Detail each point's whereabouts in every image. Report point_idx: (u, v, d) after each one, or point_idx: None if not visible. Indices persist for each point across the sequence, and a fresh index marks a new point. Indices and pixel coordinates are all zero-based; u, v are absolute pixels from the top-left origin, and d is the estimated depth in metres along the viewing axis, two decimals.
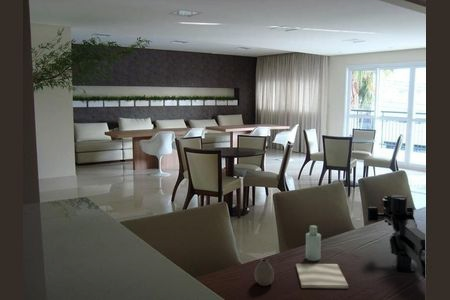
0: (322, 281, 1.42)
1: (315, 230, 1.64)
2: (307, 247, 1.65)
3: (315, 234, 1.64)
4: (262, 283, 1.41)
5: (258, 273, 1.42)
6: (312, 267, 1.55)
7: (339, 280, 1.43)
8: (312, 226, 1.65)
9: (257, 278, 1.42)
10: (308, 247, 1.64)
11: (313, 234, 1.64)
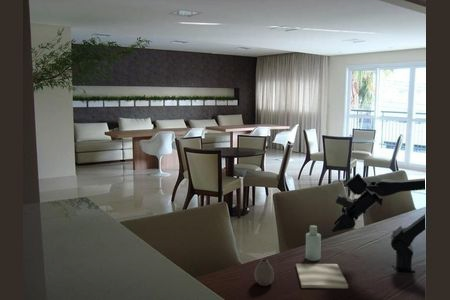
0: (322, 281, 1.42)
1: (315, 230, 1.64)
2: (307, 247, 1.65)
3: (315, 234, 1.64)
4: (262, 283, 1.41)
5: (258, 273, 1.42)
6: (312, 267, 1.55)
7: (339, 280, 1.43)
8: (312, 226, 1.65)
9: (257, 278, 1.42)
10: (308, 247, 1.64)
11: (313, 234, 1.64)
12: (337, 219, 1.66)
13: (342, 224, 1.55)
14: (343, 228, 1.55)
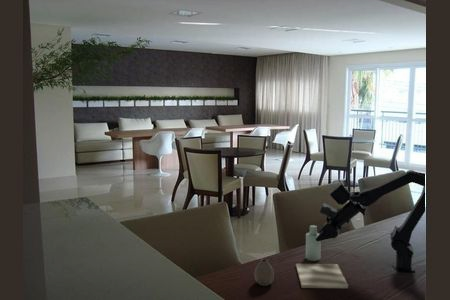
0: (322, 281, 1.42)
1: (315, 230, 1.64)
2: (307, 247, 1.65)
3: (315, 234, 1.64)
4: (262, 283, 1.41)
5: (258, 273, 1.42)
6: (312, 267, 1.55)
7: (339, 280, 1.43)
8: (312, 226, 1.65)
9: (257, 278, 1.42)
10: (308, 247, 1.64)
11: (313, 234, 1.64)
12: (322, 228, 1.68)
13: (326, 233, 1.58)
14: (327, 237, 1.57)
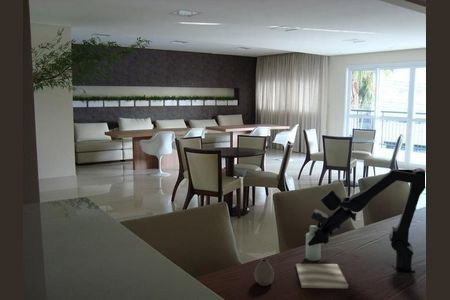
0: (322, 281, 1.42)
1: None
2: (307, 247, 1.65)
3: None
4: (262, 283, 1.41)
5: (258, 273, 1.42)
6: (312, 267, 1.55)
7: (339, 280, 1.43)
8: (312, 226, 1.65)
9: (257, 278, 1.42)
10: (308, 247, 1.64)
11: (313, 234, 1.64)
12: None
13: (317, 238, 1.61)
14: (318, 242, 1.60)
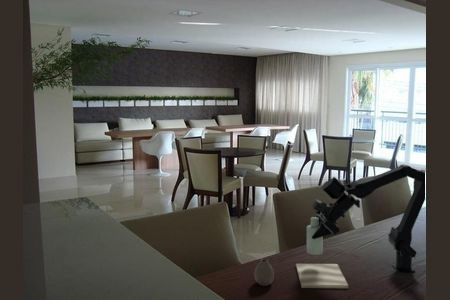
0: (322, 281, 1.42)
1: (317, 222, 1.53)
2: (310, 241, 1.53)
3: (317, 226, 1.53)
4: (262, 283, 1.41)
5: (258, 273, 1.42)
6: (312, 267, 1.55)
7: (339, 280, 1.43)
8: (313, 218, 1.54)
9: (257, 278, 1.42)
10: (311, 241, 1.52)
11: (316, 226, 1.53)
12: None
13: (323, 230, 1.50)
14: (324, 234, 1.49)
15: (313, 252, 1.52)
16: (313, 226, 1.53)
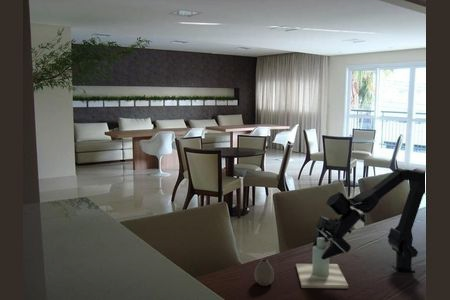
0: (322, 281, 1.42)
1: (324, 242, 1.47)
2: (318, 263, 1.46)
3: (324, 247, 1.47)
4: (262, 283, 1.41)
5: (258, 273, 1.42)
6: (312, 267, 1.55)
7: (339, 280, 1.43)
8: (320, 238, 1.47)
9: (257, 278, 1.42)
10: (319, 263, 1.45)
11: (323, 247, 1.46)
12: (314, 243, 1.52)
13: (334, 249, 1.42)
14: (335, 253, 1.42)
15: (321, 274, 1.46)
16: (320, 247, 1.46)
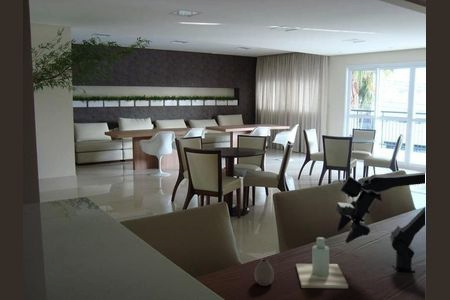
0: (322, 281, 1.42)
1: (324, 242, 1.47)
2: (317, 263, 1.46)
3: (324, 247, 1.47)
4: (262, 283, 1.41)
5: (258, 273, 1.42)
6: None
7: (339, 280, 1.43)
8: (319, 238, 1.47)
9: (257, 278, 1.42)
10: (319, 263, 1.45)
11: (323, 247, 1.46)
12: (339, 225, 1.63)
13: (355, 233, 1.53)
14: (357, 236, 1.53)
15: (321, 274, 1.46)
16: (320, 247, 1.46)
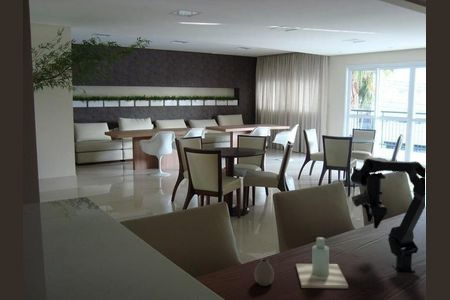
0: (322, 281, 1.42)
1: (324, 242, 1.46)
2: (317, 263, 1.46)
3: (324, 247, 1.47)
4: (262, 283, 1.41)
5: (258, 273, 1.42)
6: None
7: (339, 280, 1.43)
8: (319, 238, 1.47)
9: (257, 278, 1.42)
10: (319, 263, 1.45)
11: (322, 247, 1.46)
12: (367, 216, 1.72)
13: (377, 216, 1.61)
14: (381, 218, 1.61)
15: (321, 274, 1.46)
16: (320, 247, 1.46)
